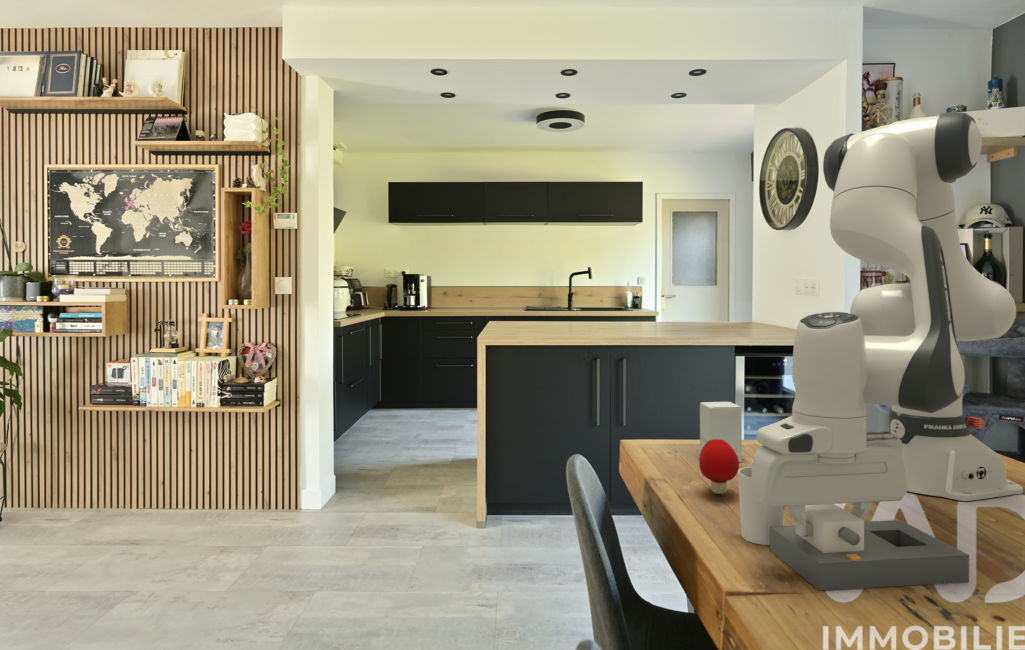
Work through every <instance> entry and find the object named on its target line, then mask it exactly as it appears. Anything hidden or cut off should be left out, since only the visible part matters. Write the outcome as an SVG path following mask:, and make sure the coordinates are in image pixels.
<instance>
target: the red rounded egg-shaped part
mask: <svg viewBox="0 0 1025 650" xmlns="http://www.w3.org/2000/svg"><path fill="white" fill-rule="evenodd" d="M699 454H700V455H699V457H698V463H699V465H698V466H699V470H700V473H701V474H702V476H704V477H705V478H706V479H708V480H709V481H710V482H711V488H710V489H711V491H712V492H713V493H714V494H715V495H716V496H722V495H723V494H725V493H726V492H727V489H728V488H727V484H728V481H731V480H733V479H734V478H735V477H736V476H737V475H738V470H739V469H740V462H739V460H738V457H737V455H736V453H735V451H734V450H733V448H732V447H731V446H730V445H729V444H728V443H727V442H726V441H724V440H720V439H712V440H709V441H708V442H707V443H706V444H705V445H704V447H703V448H702V450H701V453H699Z"/></svg>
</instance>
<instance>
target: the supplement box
mask: <svg viewBox="0 0 1025 650" xmlns="http://www.w3.org/2000/svg"><path fill="white" fill-rule="evenodd" d="M712 439H720V440H724V441H726V442H727V443H728V444H729V445H730V446H731V447H732V448H733V450H734V451H735V453H736V455H737V457H738V460H739V463H742V461H743V460H742V459H743V450H742V449H743V447H742V446H743V445H742V442H743V441H742V439H743V438H742V406H740V405H738V404H736V403H734V402H731V401H703V402H700V403H699V447H700V448H699V452H700V453H701V450H702V448H703V447H704V445H705V444H706V443H707V442H708V441H709V440H712ZM700 453H699V454H700Z"/></svg>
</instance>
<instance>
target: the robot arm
mask: <svg viewBox="0 0 1025 650" xmlns="http://www.w3.org/2000/svg"><path fill="white" fill-rule="evenodd" d="M982 145H983V139H982V134H981V131H980V128H979V126H978V125H977V123H976V120H975V118H974V117H972V116H971V115H969V114H968V113H967V112H961V111H960V112H942V113H940V115H933V116H931V115H930V116H924V117H923V116H922V117H916V118H915V117H914V118H909V119H903V120H897V121H894V122H892V123H889V124H885V125H881V126H878V127H874V128H869V129H867V130H863V131H861V132H858V133H848V134H846V135H843V136H841V137H838V138H837V139H834V140H833V141H832V142H831V143H830V145H829V146H828V147H827V148H826V150H825V152H824V156H823V162H822V164H823V165H822V169H823V170H822V171H823V175H824V176H823V177H824V181H825V183H826V185H827V187H828V188H829V189H830V190H831V191H832V192H833V196H832V201H831V209H830V216H829V217H830V218H829V229H830V235H831V237H832V239H833V241H834V243H835V244H836V245H837V246H838V247H839V248H840V249H841V250H842V251H844V252H845V253H846V254H848V255H850V256H852V257H854V258H855V259H858V260H860V261H863V262H865V263H869V264H872V265H877V266H879V267H884V268H888V269H891V270H894V271H896V272H899V273H901V274H904V275H905V276H906V277H907V278H908V279H909V282H910V283H886V284H881V285H880V284H879V285H874V286H870V287H867V288H863V289H861V290H860V291H858V293H857V294H856V295H855V296H854V298H853V300H852V303H851V304H850V309H849V310H850V311H849V312H841V311H832V312H831V311H827V312H822V313H821V312H820V313H812V314H809V315H807V316H804V317H802V318H801V319H800V320H799V321H798V323H797V327H796V331H795V335H794V341H793V351H792V374H791V375H792V376H791V377H792V382H793V385H794V389H795V397H794V400H793V403H792V408H791V409H792V410H791V413H792V415H790V416H788V417H786V418H783V419H781V420H779V421H776V422H773V423H771V424H768V425H765V426H763V427H760V428H759V429H757V431H756V440H757V442H758V443H759V444H761V446H760V447H758V448H757V450H756V451H755V452H754V455H753V459H752V465H751V467H752V476H751V490H752V494H753V495H754V497H755V498H756V499H757V500H758V501H759V502H761V503H762V504H764V505H765V506H767V507H783V506H784V507H786V508H787V510H788V512H789V514H790V515H791V517H792V518H793V520H794V521H795V524H794V525H795V531H796V533H797V534H798V535H799V536H800V537H810V536H813V532H812V530H813V524H811V523H809V522H808V521H806V520H805V519H804V518H803V516H802V514H801V512H802V513H805V505H823V504H835V505H836V504H839V505H840V504H851V505H852V506H853V508H852V510H851V512H850V513H851V514H853V515H855V516H857V517H858V518H860V519H862V520H864V521H865V519H866V518H867V516H868V514H869V513H870V511H871V509H872V508H871V507H872V506H871V504H872V503H878V502H879V503H880V502H898V501H902V500H903V498H904V497H905V496H906V494H907V492H910V493H917V494H920V495H926V496H927V495H928V496H935V497H941V498H942V497H943V498H946V499H951V500H955V501H959V502H960V501H961V502H969V501H977V500H985V499H991V498H999V497H1006V496H1012V495H1018V494H1023V493H1024V488H1023V486H1022V485H1020V484H1019V483H1016V482H1015V481H1013V480H1011V479H1007V469H1006V464H1005V461H1004V459H1003V457H1001V455H1000V454H999V453H997V452H996V451H995V450H993V449H991V448H990V447H989V446H988V445H986V444H984V443H983V442H982V441H980V439H978V438H977V437H975V436H974V435H973V434H972V431H971V428H973V427H974V428H975V429H982V428H983V427H984V426H985V420H984V419H983V418H982V417H976V416H969V417H967V416H965V415H964V414H963V389H964V386H965V368H964V364H963V360H962V357H961V354H960V350H959V349H958V343H957V342H974V341H975V342H976V341H984V340H990V339H999V338H1000V337H1002V336H1003V335H1005V334H1006V333H1007V332H1008V331H1009V330H1010V328H1011V327H1012V326H1013V324H1014V322H1015V319H1016V316H1017V305H1016V303H1015V299H1014V298H1013V296H1012V294H1011V293H1010V292H1009V291H1008V290H1007V289H1006V288H1005V287H1004V286H1003V285H1001V284H999V283H998V282H994V281H992V280H990V279H989V278H987V277H985V275H983V274H982V273H980V272H979V271H978V270H977V269H976V268H975V267H974V266H973V265H972V264H971V262H970V261H969V260H968V259H967V257H966V255H965V253H964V251H963V249H962V246H961V243H960V237H959V231H958V225H957V215H956V214H957V213H956V206H955V196H954V191H953V186H952V183H954V182H956V181H957V180H958V179H960V178H964V177H965V176H966V175H968V174H969V173H971V171H972V170H973V169H974V168H975V167H976V166H977V162H978V159H979V157H980V154H981V152H982V148H983V147H982ZM866 404H872V405H880V406H881V405H883V406H891V408H890V409H889V410H888V429H889V430H882V431H881V430H880V431H867V430H868V429H867V428H868V427H867V426H868V425H867V423H868V422H867V419H868V417H867V416H868V415H867V414H868V413H867V407H866ZM970 427H971V428H970Z"/></svg>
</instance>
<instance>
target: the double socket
mask: <svg viewBox="0 0 1025 650" xmlns="http://www.w3.org/2000/svg"><path fill="white" fill-rule="evenodd" d="M769 551H770V552H772V553H773V554H774V555H775V556H777V558H779V559H780V560H781V561H782V562H784V564H786V565H787V566H789V567H790V568H791V569H792V570H794V571H795V572H796V573H797V574H798V575H800V576H801V577H802V578H804V579H805V580H806V581H807V582H808V583H810V585H812V586H813V587H814V588H815V589H816V590H818V591H836V590H837V591H839V590H841V591H842V590H853V589H858V590H859V589H868V588H869V589H871V588H888V587H902V586H903V587H905V586H906V587H907V586H921V585H922V586H923V585H939V584H954V583H969V582H970V554H968V553H967V552H964V551H962V550H961V549H958V548H956V547H954V546H952V545H951V544H948V543H947V542H945V541H943V540H941V539H939V538H937V537H934V536H933V535H931V534H929V533H927V532H924V531H923V530H921V529H918V528H917V527H915V526H913V525H910V524H909V523H907V522H905V521H903V520H902V519H895V520H894V519H893V520H875V521H874V520H872V521H869V520H868V521H864V551H850V552H832V553H823V552H822V551H820V550H819V549H817V548H816V547H815V546H813V545H812V544H810V543H809V542H808V541H806V540H805V539H803V538H802V537H800V536H799V535H798V534H796V531H795V524H791V525H783V526H771V527H770V545H769Z"/></svg>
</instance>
